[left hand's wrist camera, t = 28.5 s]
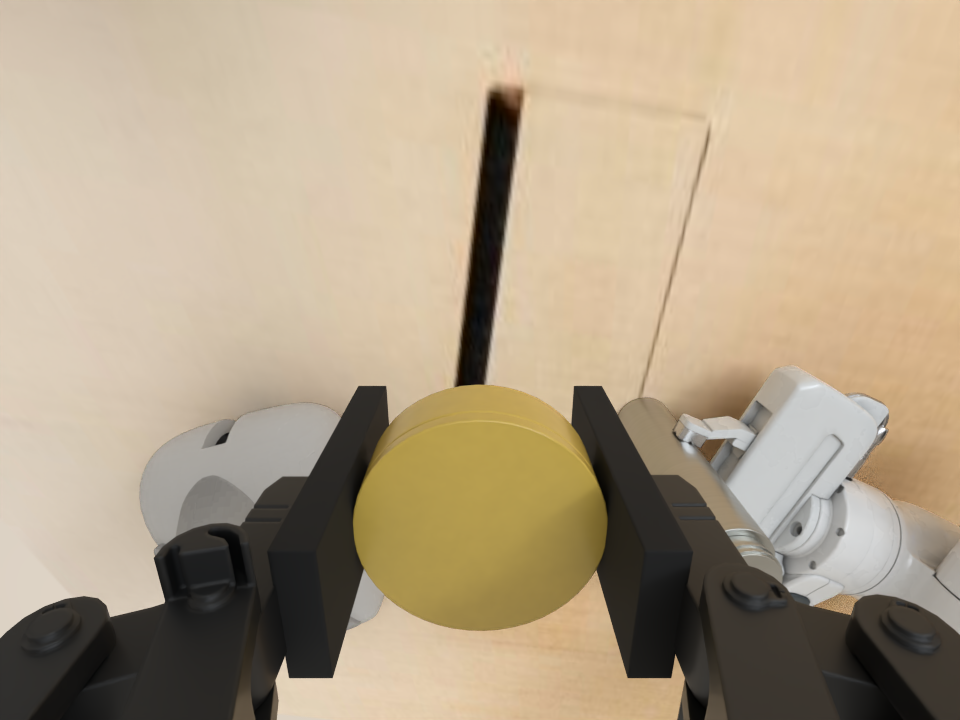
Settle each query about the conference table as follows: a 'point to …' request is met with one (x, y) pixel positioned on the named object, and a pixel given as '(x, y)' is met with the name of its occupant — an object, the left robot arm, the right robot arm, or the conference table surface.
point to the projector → (238, 475)
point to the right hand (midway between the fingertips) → (658, 458)
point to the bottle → (696, 478)
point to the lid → (480, 510)
